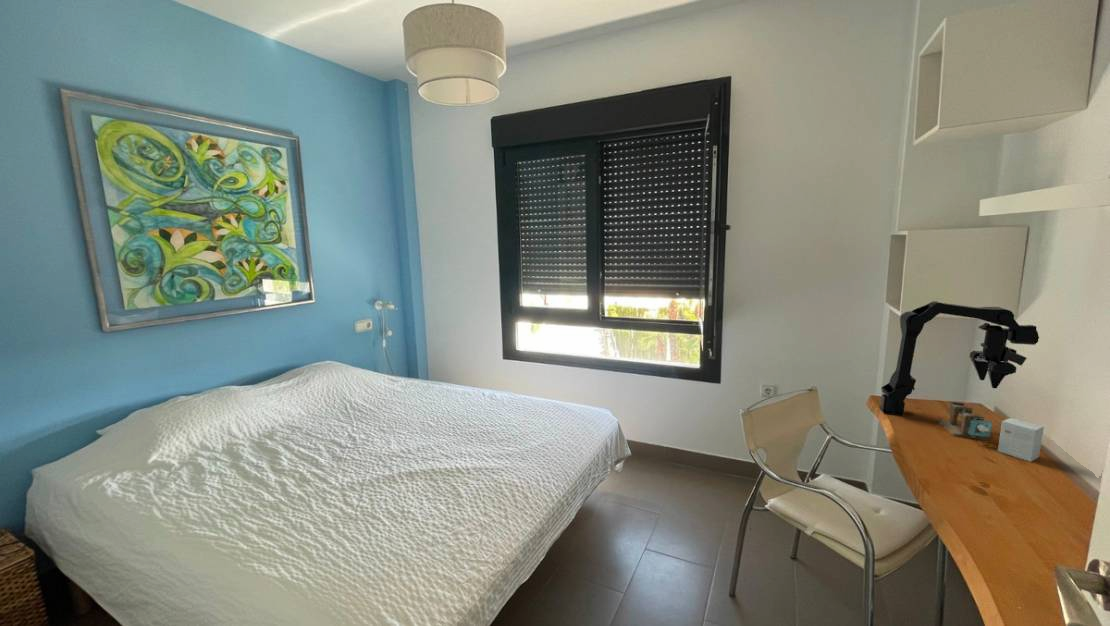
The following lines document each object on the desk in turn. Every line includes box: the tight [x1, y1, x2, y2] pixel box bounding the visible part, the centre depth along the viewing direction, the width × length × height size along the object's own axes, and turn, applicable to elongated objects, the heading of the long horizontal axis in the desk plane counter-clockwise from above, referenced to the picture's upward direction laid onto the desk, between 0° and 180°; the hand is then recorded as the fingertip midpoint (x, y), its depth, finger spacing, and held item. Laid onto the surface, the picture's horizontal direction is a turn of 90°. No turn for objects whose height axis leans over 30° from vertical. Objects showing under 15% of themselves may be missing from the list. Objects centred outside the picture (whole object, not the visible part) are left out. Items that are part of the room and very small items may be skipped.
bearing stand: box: [937, 404, 991, 441], centre depth 158 cm, size 10×13×8 cm
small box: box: [997, 417, 1045, 463], centre depth 141 cm, size 8×6×10 cm
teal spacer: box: [969, 420, 993, 438], centre depth 148 cm, size 5×1×5 cm, turn 69°
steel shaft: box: [949, 401, 989, 433], centre depth 155 cm, size 3×21×4 cm, turn 159°
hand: (988, 384), depth 163 cm, fingers open, 9 cm apart
